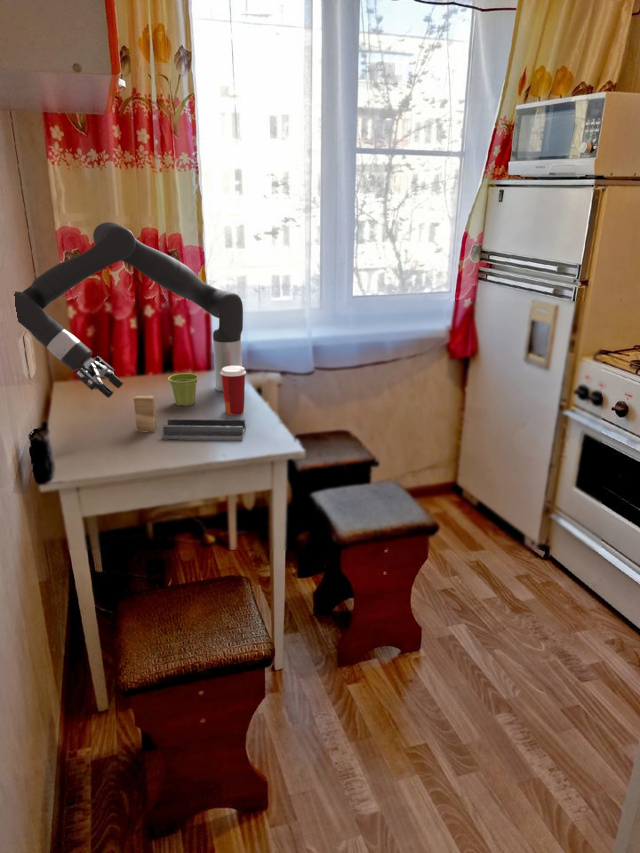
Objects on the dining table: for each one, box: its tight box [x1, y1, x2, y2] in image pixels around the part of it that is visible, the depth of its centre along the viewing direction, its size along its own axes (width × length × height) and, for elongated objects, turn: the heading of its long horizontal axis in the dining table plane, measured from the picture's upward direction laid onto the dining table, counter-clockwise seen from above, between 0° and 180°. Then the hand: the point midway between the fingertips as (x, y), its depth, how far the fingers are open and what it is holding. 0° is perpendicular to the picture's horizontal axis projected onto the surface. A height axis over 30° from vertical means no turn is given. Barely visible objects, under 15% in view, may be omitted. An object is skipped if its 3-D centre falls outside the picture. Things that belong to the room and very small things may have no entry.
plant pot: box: [167, 372, 199, 407], centre depth 196 cm, size 9×9×9 cm
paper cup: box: [220, 366, 247, 416], centre depth 187 cm, size 8×8×14 cm
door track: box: [161, 418, 247, 441], centre depth 172 cm, size 10×22×3 cm, turn 90°
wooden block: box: [133, 395, 158, 432], centre depth 173 cm, size 2×5×10 cm, turn 90°
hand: (116, 390), depth 171 cm, fingers open, 8 cm apart
